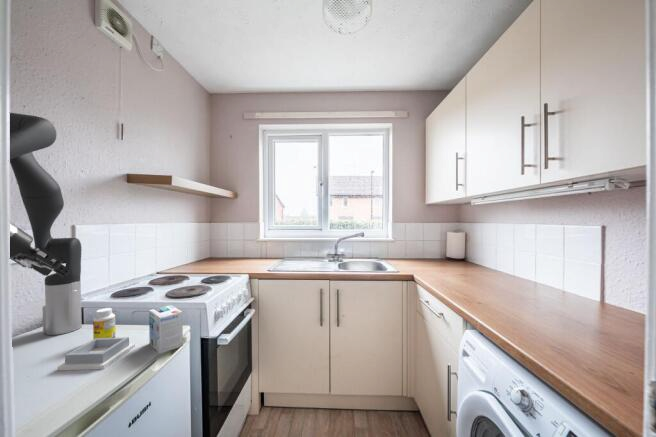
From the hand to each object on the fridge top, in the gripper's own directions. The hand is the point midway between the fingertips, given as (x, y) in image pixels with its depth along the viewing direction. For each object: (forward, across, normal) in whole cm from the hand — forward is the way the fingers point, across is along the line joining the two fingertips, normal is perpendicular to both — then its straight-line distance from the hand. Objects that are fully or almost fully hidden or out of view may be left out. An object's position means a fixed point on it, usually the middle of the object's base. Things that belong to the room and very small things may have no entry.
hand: (58, 273), depth 77 cm
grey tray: (+20, -10, +15) cm, 27 cm away
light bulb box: (+28, -22, +7) cm, 36 cm away
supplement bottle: (+26, 0, +9) cm, 27 cm away
